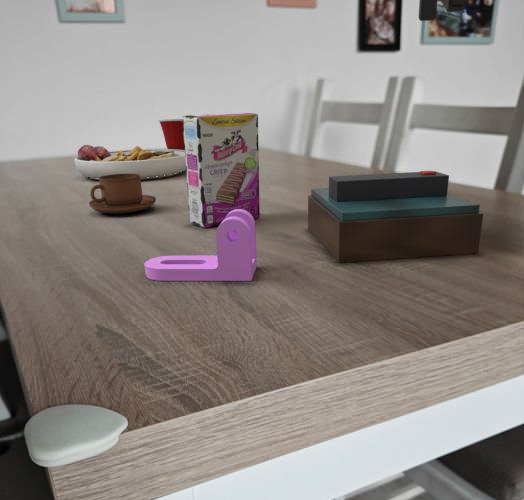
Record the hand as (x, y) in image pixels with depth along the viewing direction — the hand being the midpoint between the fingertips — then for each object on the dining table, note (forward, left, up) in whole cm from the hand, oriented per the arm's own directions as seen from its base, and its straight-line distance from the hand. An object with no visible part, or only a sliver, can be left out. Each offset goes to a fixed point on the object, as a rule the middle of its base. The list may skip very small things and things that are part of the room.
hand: (440, 16), depth 71 cm
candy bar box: (+28, -13, -28) cm, 42 cm away
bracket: (+33, +15, -28) cm, 46 cm away
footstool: (+7, +5, -27) cm, 29 cm away
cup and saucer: (+46, -27, -28) cm, 60 cm away
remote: (+8, +5, -21) cm, 23 cm away
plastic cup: (+37, -115, -28) cm, 124 cm away
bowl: (+48, -78, -28) cm, 96 cm away
